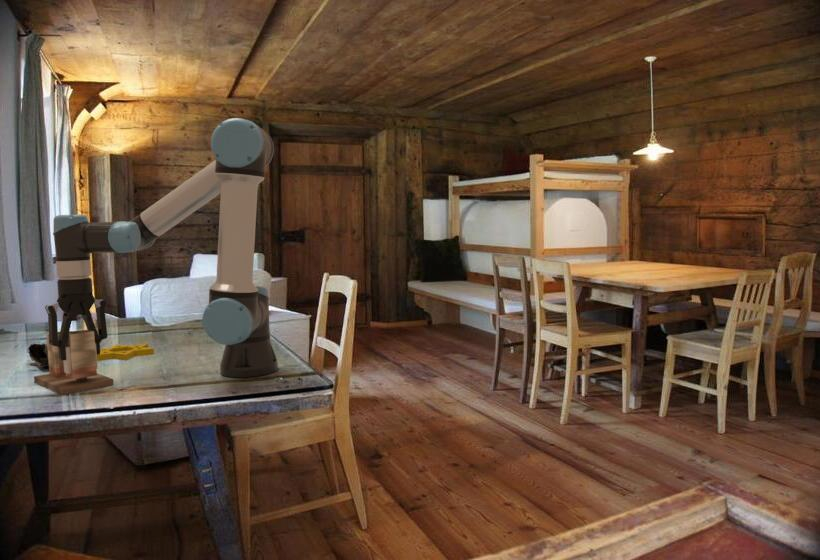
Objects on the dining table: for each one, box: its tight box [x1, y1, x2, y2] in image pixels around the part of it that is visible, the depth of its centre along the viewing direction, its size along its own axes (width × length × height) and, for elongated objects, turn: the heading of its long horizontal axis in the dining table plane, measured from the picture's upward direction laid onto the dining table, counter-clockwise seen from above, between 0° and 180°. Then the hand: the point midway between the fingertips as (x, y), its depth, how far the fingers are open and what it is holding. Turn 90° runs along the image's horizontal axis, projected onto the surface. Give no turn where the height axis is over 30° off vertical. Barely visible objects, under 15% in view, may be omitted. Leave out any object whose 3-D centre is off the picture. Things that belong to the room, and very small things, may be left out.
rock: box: [27, 343, 49, 367], centre depth 186 cm, size 18×10×15 cm
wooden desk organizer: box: [33, 330, 114, 396], centre depth 162 cm, size 20×12×12 cm, turn 47°
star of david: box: [97, 343, 155, 362], centre depth 198 cm, size 20×17×2 cm
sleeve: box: [66, 328, 98, 379], centre depth 158 cm, size 5×5×11 cm
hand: (81, 370), depth 158 cm, fingers open, 5 cm apart
